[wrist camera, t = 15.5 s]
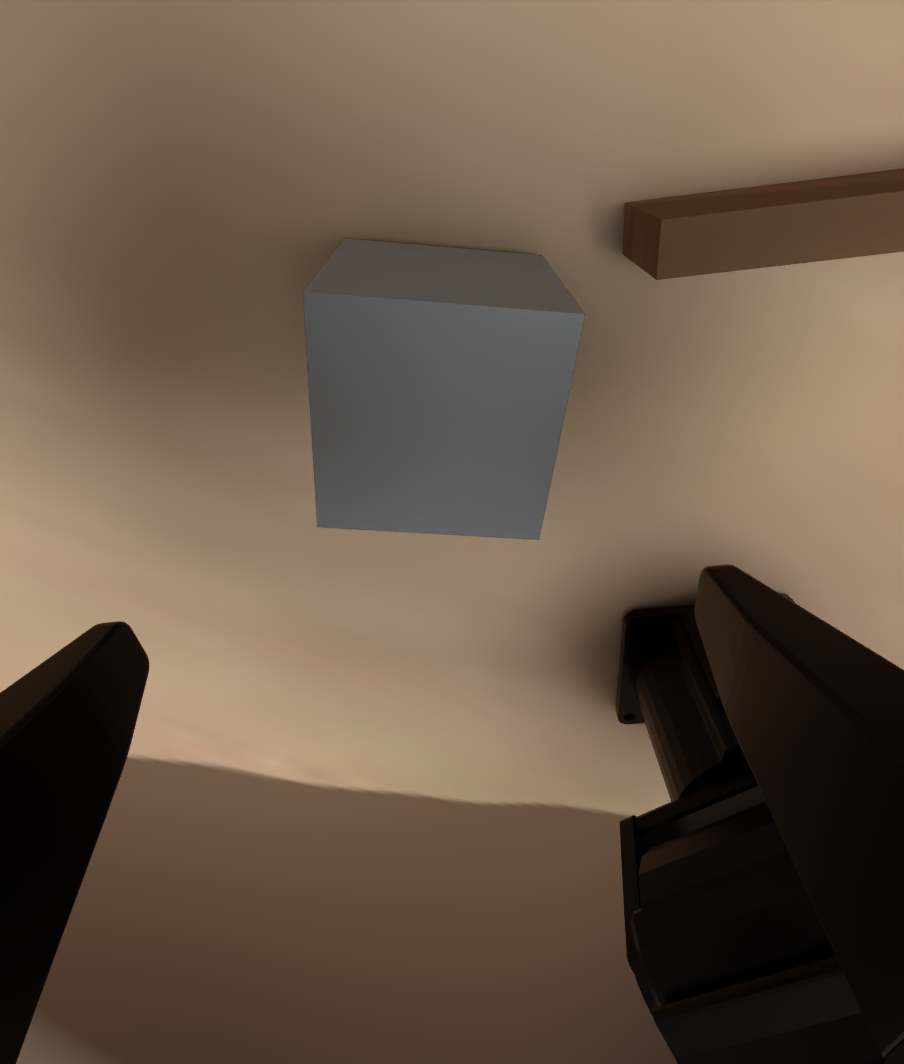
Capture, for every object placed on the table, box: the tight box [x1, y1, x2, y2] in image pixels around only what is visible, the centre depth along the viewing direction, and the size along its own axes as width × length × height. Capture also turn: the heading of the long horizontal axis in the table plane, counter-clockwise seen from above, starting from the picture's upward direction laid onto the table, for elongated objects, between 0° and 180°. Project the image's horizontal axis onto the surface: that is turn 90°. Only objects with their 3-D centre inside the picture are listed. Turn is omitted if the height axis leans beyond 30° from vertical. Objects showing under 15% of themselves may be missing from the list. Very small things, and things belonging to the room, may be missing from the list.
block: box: [303, 238, 585, 540], centre depth 14 cm, size 5×5×6 cm
